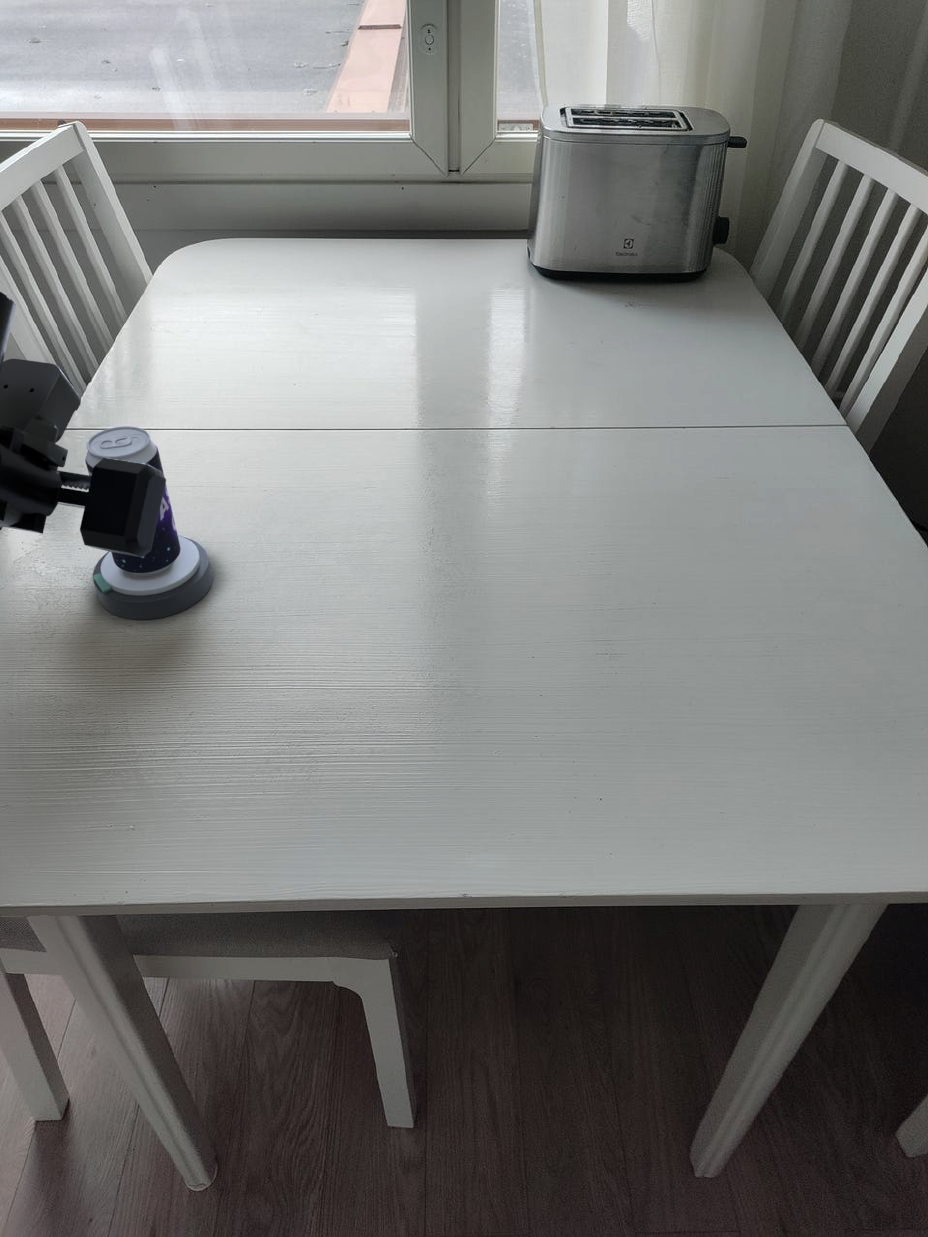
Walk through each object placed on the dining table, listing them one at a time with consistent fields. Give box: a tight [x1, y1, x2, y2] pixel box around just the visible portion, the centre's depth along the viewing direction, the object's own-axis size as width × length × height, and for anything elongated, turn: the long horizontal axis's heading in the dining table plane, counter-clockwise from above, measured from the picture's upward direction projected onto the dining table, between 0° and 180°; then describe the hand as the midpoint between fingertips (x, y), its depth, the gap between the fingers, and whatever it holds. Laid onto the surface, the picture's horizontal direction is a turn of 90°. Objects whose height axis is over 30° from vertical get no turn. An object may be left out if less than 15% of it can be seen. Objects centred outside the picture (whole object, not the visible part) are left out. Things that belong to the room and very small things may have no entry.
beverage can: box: [84, 425, 181, 576], centre depth 80 cm, size 6×6×12 cm
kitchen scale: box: [91, 534, 214, 620], centre depth 85 cm, size 10×10×3 cm
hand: (97, 517), depth 75 cm, fingers open, 9 cm apart
